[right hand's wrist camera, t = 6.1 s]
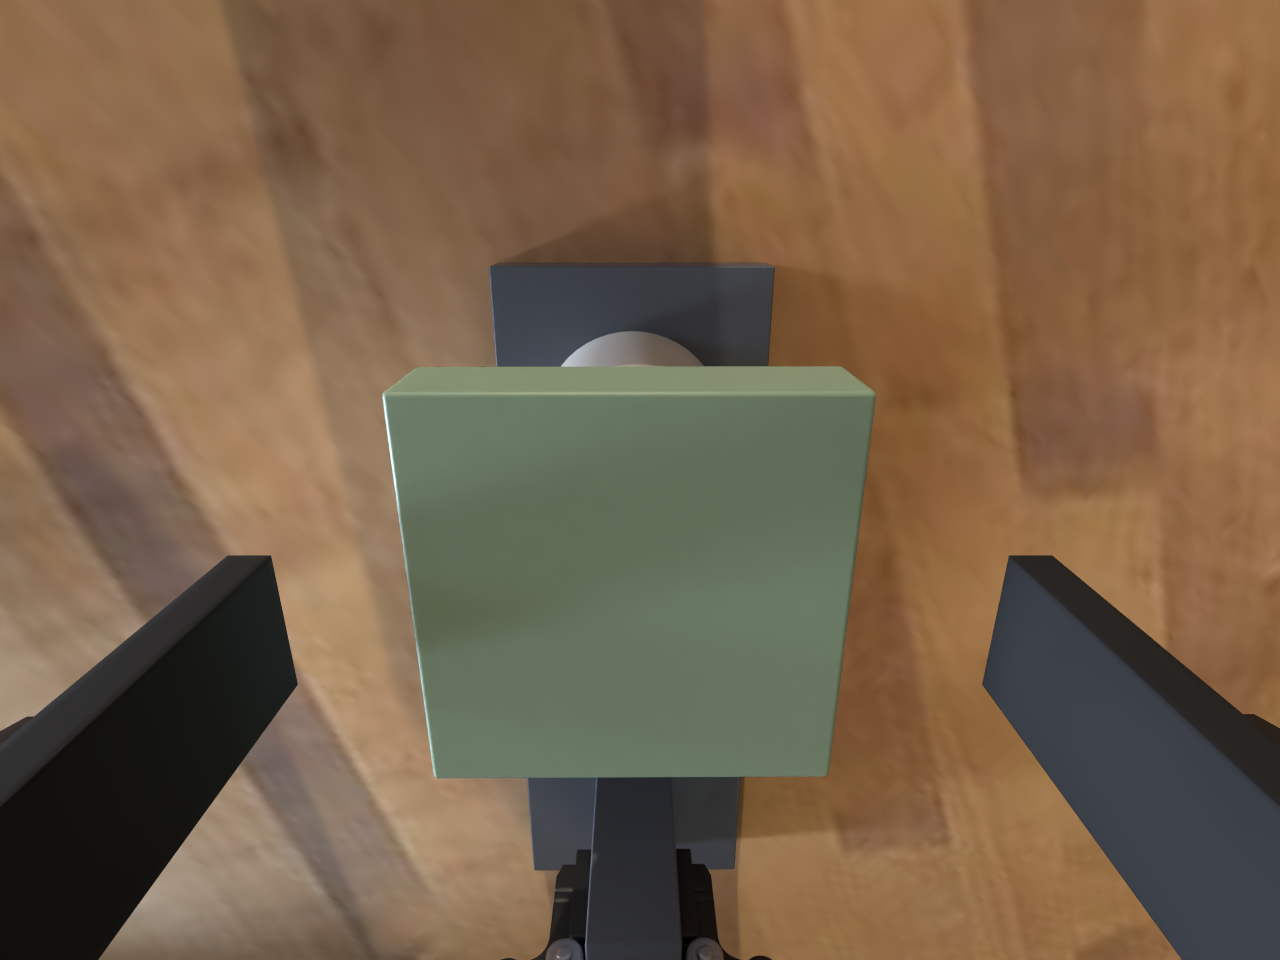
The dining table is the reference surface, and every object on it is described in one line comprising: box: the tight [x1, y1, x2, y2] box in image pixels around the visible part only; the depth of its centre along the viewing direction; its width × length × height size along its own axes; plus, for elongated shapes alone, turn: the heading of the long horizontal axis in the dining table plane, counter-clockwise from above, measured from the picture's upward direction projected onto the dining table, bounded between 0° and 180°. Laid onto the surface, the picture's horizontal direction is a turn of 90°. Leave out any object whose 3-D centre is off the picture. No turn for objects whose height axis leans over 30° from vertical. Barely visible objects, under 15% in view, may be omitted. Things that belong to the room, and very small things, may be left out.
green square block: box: [382, 366, 876, 778], centre depth 15 cm, size 8×8×4 cm
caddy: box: [489, 263, 775, 960], centre depth 23 cm, size 9×26×12 cm, turn 0°
